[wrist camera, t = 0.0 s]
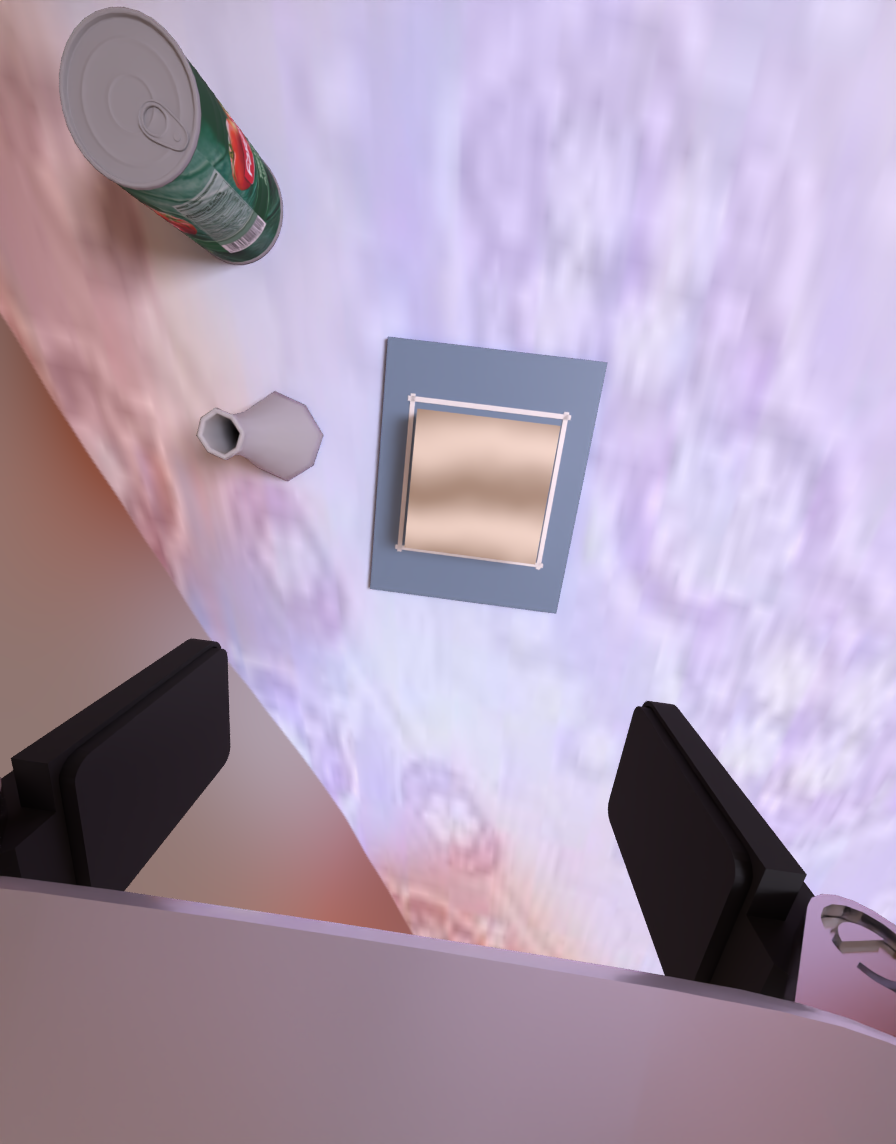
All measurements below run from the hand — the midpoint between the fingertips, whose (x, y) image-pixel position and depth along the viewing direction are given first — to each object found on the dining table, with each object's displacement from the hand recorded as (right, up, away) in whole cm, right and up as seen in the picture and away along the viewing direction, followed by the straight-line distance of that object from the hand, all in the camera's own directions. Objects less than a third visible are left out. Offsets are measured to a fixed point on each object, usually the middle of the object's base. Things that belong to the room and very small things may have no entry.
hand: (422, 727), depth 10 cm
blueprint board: (+3, +11, +29) cm, 31 cm away
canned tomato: (-16, +32, +24) cm, 44 cm away
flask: (-14, +16, +29) cm, 36 cm away
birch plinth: (+3, +11, +29) cm, 31 cm away
